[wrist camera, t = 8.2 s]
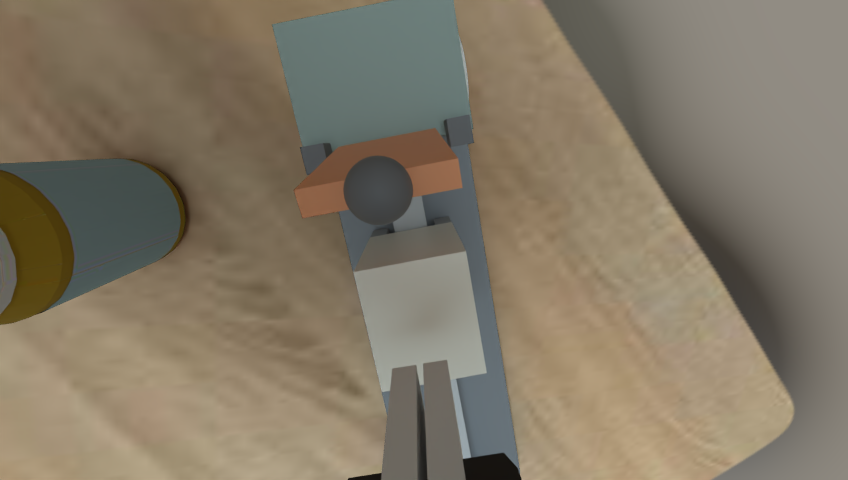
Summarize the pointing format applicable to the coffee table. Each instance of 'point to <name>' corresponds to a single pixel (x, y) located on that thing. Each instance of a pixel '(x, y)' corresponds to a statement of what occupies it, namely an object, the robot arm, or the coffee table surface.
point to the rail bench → (395, 115)
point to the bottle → (79, 228)
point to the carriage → (419, 301)
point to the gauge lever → (380, 177)
